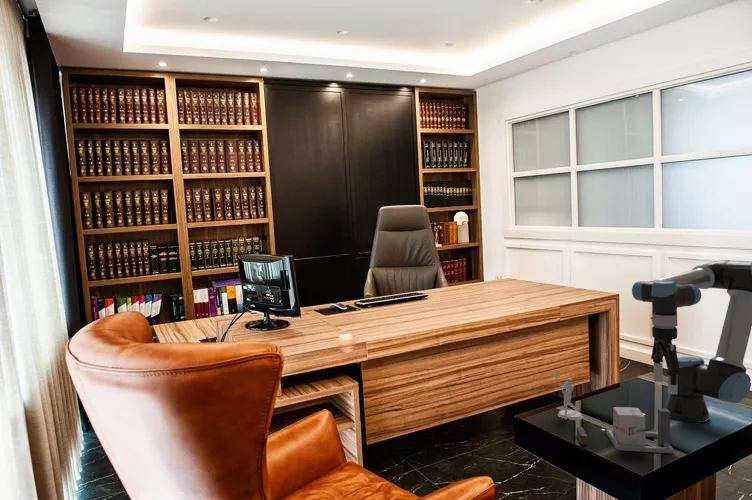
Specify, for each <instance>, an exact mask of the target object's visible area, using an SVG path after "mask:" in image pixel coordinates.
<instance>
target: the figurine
mask: <svg viewBox="0 0 752 500" xmlns="http://www.w3.org/2000/svg"><path fill="white" fill-rule="evenodd" d="M553 373H554V374H553V375H554V378H555V380H556V381H558V383H559V388H560V389H561V393H562V395H563V407H564V409H561V410H560V411H558V413H557V416H558V417H559V418H560V417H561V418H560V419H563V418H564V419H563V420H567V419H569V420H568V421H579V420H582V419H583V418H584V417H583V415H582V413H580V412H579V411H578V410H577V406H576V405H574V404H573V403H571V399H572V395H573V394H572V393H573V390H574V388H575V387H574V385H573V379H572V378H571V377H567V378H566V381H565V382H564V384H561V382H560V373H559V370H556V373H555V372H553ZM563 389H565V390H563ZM568 407H572V409H568Z"/></svg>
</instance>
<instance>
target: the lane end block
mask: <svg viewBox="0 0 752 500" xmlns="http://www.w3.org/2000/svg"><path fill="white" fill-rule="evenodd" d="M576 437H577V439H578V440H579V443H580V444H581V445H585V446H586V445H588V434H587V433H586V431H585V429H584V428H583V427H581V426H577V427H576Z"/></svg>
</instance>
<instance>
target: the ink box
mask: <svg viewBox="0 0 752 500" xmlns="http://www.w3.org/2000/svg"><path fill="white" fill-rule="evenodd" d="M612 408H613V409H612V413H613V414H612V416H613V417H612V418H613V419H612V421H613V424H612V427H613V429H612V430H613V434H614V436H615V437H616V439H617V440H618V442H619V443H620V445H634V446H646V437H645V432H646V416H645V415H644V413H643V412H642V411H641V410H640V408H638V407H628V406H627V407H626V406H625V407H622V406H621V407H620V406H613V407H612Z"/></svg>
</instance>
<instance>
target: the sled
mask: <svg viewBox="0 0 752 500" xmlns="http://www.w3.org/2000/svg"><path fill="white" fill-rule="evenodd" d="M605 431H606V433H605V434H606V436H607V437H608V439H609V440H610V441H611V443H612V445H613V446H614V448H615V449H616V451H629V452H644V453H645V452H648V453H660V454H661V453H662V454H663V453H664V454H674V451H675V449H674V448H673V447H672V446H671V417H670V411H669V410H668V409H665V408H659V407H658V408H657V431H645V438H656V439H657V444H658V445H659V446H652V445H651V446H649V445H645V446H634V445H620V443H619V442H618V440H617V439H616V437H615V436H614V434H613V429H606V430H605Z"/></svg>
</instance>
